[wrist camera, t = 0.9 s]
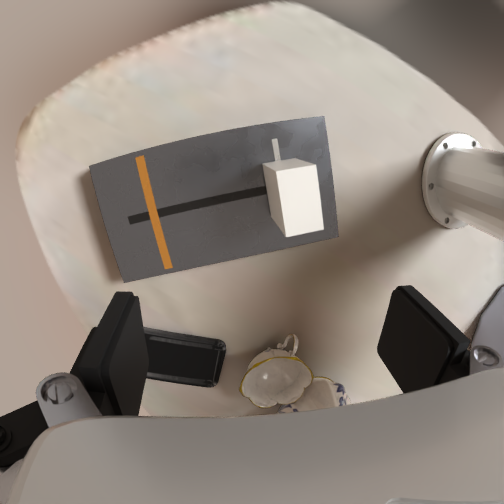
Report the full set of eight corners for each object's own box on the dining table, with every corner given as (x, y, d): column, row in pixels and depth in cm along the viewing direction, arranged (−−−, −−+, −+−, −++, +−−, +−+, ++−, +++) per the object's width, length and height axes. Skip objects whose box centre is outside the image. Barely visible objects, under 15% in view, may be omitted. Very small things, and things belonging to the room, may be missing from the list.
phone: (216, 388, 39) (105, 370, 36) (215, 382, 40) (107, 364, 37) (227, 343, 37) (104, 322, 34) (227, 338, 38) (106, 317, 35)
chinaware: (224, 324, 39) (216, 432, 23) (355, 311, 39) (406, 406, 23) (245, 446, 49) (246, 526, 34) (336, 436, 49) (355, 512, 34)
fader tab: (294, 158, 28) (316, 164, 22) (302, 210, 29) (323, 229, 24) (262, 163, 27) (275, 171, 22) (271, 216, 29) (286, 237, 24)
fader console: (313, 117, 29) (324, 116, 27) (328, 228, 34) (338, 237, 31) (99, 162, 28) (88, 166, 25) (130, 270, 33) (124, 283, 30)
